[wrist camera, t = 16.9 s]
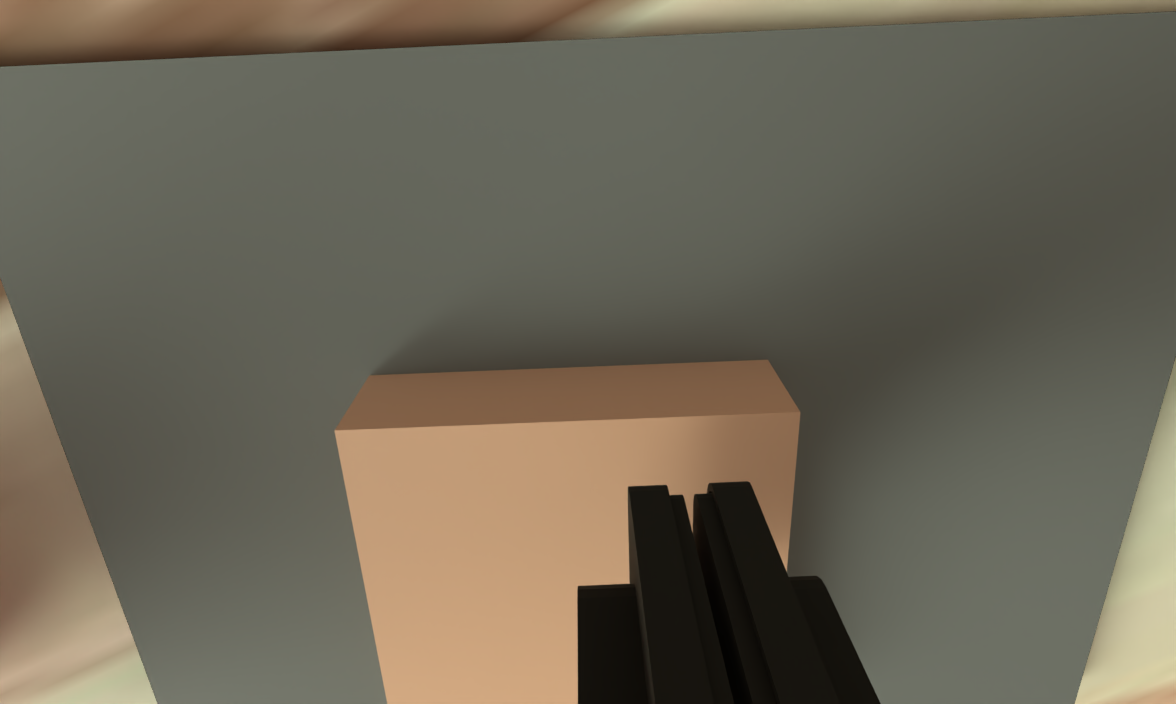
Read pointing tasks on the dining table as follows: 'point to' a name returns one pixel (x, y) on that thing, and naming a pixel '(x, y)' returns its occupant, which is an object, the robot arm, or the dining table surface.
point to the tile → (534, 505)
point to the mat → (612, 309)
